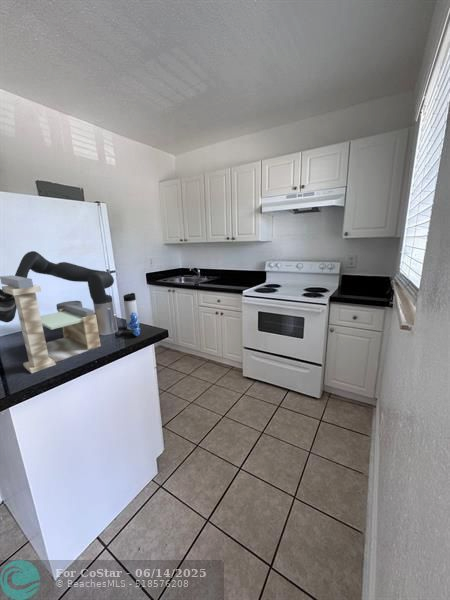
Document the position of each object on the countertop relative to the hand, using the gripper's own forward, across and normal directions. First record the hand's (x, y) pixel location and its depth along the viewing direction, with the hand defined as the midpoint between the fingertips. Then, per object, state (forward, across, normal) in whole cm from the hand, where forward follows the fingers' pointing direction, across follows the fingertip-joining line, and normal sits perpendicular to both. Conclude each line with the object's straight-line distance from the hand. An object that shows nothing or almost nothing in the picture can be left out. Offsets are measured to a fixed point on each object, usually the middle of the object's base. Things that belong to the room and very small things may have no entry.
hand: (10, 284), depth 99 cm
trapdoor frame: (-11, +14, +30) cm, 35 cm away
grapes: (+1, +41, +37) cm, 55 cm away
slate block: (+8, 0, +4) cm, 10 cm away
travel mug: (-8, +47, +32) cm, 57 cm away
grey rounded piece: (-35, +28, +16) cm, 47 cm away
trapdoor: (-4, +15, +18) cm, 24 cm away
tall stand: (-3, 0, +34) cm, 35 cm away
